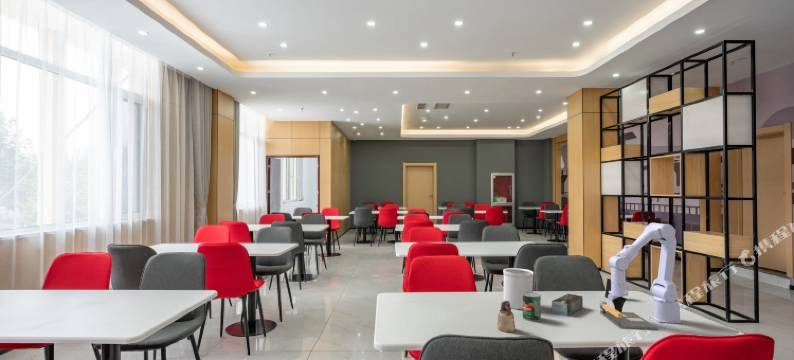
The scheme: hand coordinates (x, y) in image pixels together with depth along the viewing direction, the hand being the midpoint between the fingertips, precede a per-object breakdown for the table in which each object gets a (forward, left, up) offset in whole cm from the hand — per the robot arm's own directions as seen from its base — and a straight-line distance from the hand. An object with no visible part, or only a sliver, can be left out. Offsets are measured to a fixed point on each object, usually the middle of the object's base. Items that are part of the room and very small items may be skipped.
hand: (618, 313), depth 182 cm
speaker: (-15, -40, -4) cm, 43 cm away
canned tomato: (+39, +2, -4) cm, 39 cm away
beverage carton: (+18, -13, -4) cm, 23 cm away
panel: (-4, 0, -3) cm, 5 cm away
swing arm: (+2, -3, -1) cm, 4 cm away
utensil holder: (+41, -18, -4) cm, 45 cm away
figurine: (+53, +18, -4) cm, 56 cm away
